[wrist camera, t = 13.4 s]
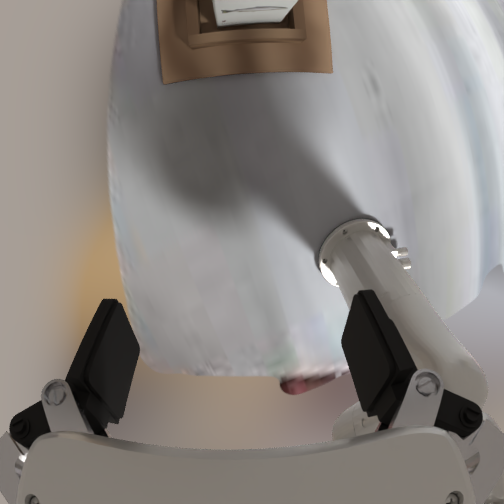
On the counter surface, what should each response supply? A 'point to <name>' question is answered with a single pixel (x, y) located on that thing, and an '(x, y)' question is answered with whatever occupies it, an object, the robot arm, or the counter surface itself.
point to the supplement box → (250, 11)
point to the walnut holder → (241, 42)
